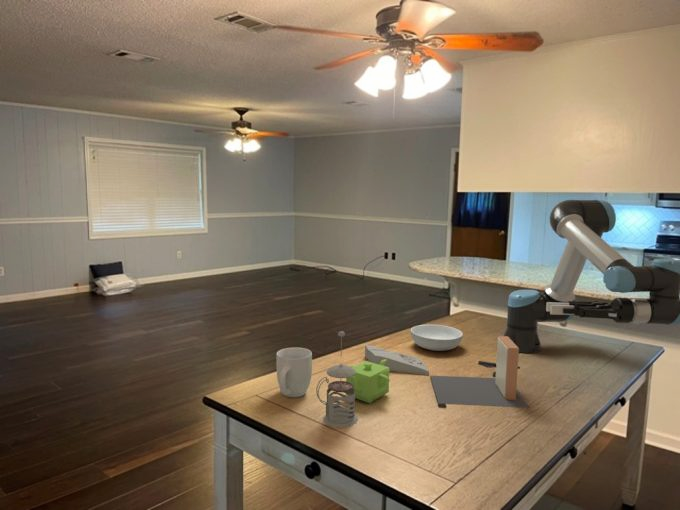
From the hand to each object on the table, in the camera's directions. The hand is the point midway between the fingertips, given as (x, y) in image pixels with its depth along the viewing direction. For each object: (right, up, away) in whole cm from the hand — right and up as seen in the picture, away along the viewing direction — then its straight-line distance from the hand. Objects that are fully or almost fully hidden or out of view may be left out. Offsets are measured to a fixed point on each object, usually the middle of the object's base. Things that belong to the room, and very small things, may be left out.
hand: (549, 308), depth 146 cm
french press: (-64, -29, -14) cm, 72 cm away
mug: (-78, -27, +2) cm, 83 cm away
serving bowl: (-24, -22, +50) cm, 60 cm away
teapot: (-55, -28, +2) cm, 62 cm away
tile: (-12, -27, +4) cm, 29 cm away
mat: (-21, -27, +5) cm, 35 cm away
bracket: (-8, -26, +23) cm, 36 cm away
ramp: (-43, -25, +29) cm, 58 cm away
